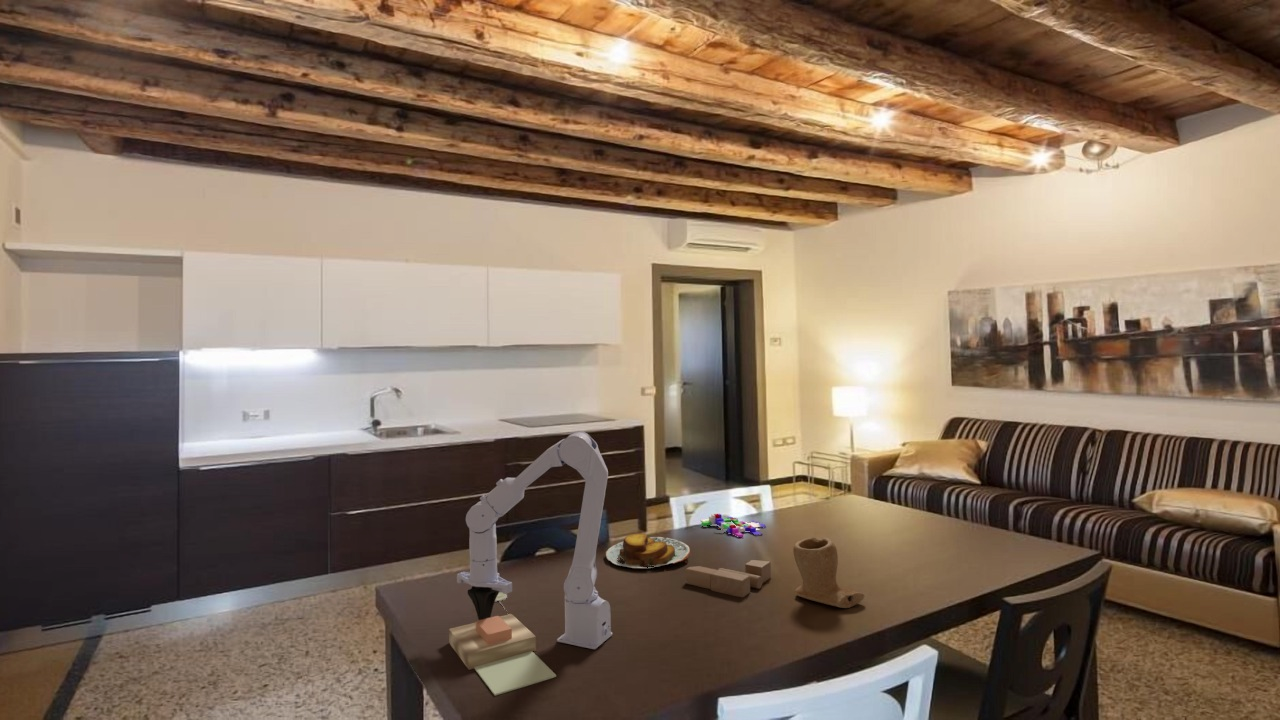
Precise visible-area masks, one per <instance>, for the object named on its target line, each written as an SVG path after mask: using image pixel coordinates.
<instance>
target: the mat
mask: <svg viewBox="0 0 1280 720" xmlns="http://www.w3.org/2000/svg"><path fill="white" fill-rule="evenodd" d="M473 670H475V671H476V673H477V674H478V675H479V677H480V678H481V679H482V681H483V683H484V684H485V685H486V686H487V687H488V688H489V690H490V691H491V693H492V694H493V696H494V697H495V696H499V695H502V694H505V693H508V692H512V691H515V690H518V689H521V688H525V687H528V686H531V685H535V684H538V683H541V682H544V681H547V680H550V679H553V678H556V677H557V674H556V673H555V672H553V670H552V669H551V668H550V667H549V666H548V665H547V664H546V663H545V662H544V661H543V660H542V659H541V658H540V657H539V656H538V655H536V654H535V652H532V651H529V652H526V653H522V654H519V655H515V656H512V657H508V658H505V659H501V660H497V661H494V662H490V663H487V664H483V665H480V666H476V667H474V669H473Z"/></svg>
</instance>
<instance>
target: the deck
mask: <svg viewBox="0 0 1280 720" xmlns="http://www.w3.org/2000/svg"><path fill="white" fill-rule="evenodd" d="M499 617H500V618H501V619H502V620H503V621H504V622H505V623H506V624H507V625H508V626H509V627H510V628H511V629H512V638H511V639H508V640H504V641H500V642H496V643H492V644H489V645H488V644H487V643H486V642H485V641H484V639H483V638H482V637H481V636H480V635H479V634H478V632H477V631H476V622H472V623H469V624H464V625H463V624H462V625H460V626H455V627H452V628H448V643H449V645H450V646H451V648H452V649H453V650H454V652H455V653H456V654H457V656H458V657H459V659H460V660H461V661H462V663H463V664H464V665H465V667H466V668H467V669H468V670H469V671H470V670H475V669H474V667H476V666H480V665H483V664H487V663H490V662H494V661H497V660H501V659H505V658H508V657H512V656H515V655H519V654H522V653H526V652H529V651H532V652H533V651H534V652H537V637H536V635H535V634H534V633H533V632H532V631H531V630H529V629H528V628H527V627H526V626H525V625H524V624H523V623H522V622H521V621H520V620H519V619H518V618H517V617H516V616H515V615H514V614H513V613H509V615H508V614H506V615H501V616H499ZM534 652H533V653H534Z"/></svg>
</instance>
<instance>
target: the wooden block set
mask: <svg viewBox="0 0 1280 720" xmlns="http://www.w3.org/2000/svg"><path fill="white" fill-rule="evenodd" d="M771 565H772V564H771V561H767V560H766V561H765V560H758V559H757V560H756V559H751V560H749V561H748V562H746V563H745V565H744V566H745V567H744V568H745V569H744V570H745V572H744V571H737V570H732V569H729V568H723V567H718V569H715V568H709V567H705V566H701V565H698V566H689V567H687V568H685V569H684V572H685V573H684V574H685V584H687V585H690V586H695V587H699V588H703V589H707V590H711V591H712V592H715V593H716V592H717V593H721V594H725V595H729V596H733V597H738V598H745V597H746V596H747V595H748V594H750V593H751V588H753V589H757V590H760V589H761V588H762V586H763V584H764V583H766V582H767V581H768V580H770V579H771V578H772V573H771V572H772V570H771V569H772V567H771Z"/></svg>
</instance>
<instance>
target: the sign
mask: <svg viewBox="0 0 1280 720" xmlns="http://www.w3.org/2000/svg"><path fill="white" fill-rule="evenodd" d="M506 598H507V599H508V593H507V594H503V592H501V591H500V592H499V593H498V595H497V597H496V600H495V602H494V603H499V605H500V604H501V605H502V606H503V607H502V606H501V605H500V606H501V607H502V609H503V608H504V609H503V610H504V611H505V609H506V608H505V606H504V605H503V603H502V602H503V601H505V600H507V599H506ZM502 600H503V601H502ZM497 601H499V602H497ZM508 613H509V612H508ZM508 613H506V615H509V614H510V613H509V614H508Z"/></svg>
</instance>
